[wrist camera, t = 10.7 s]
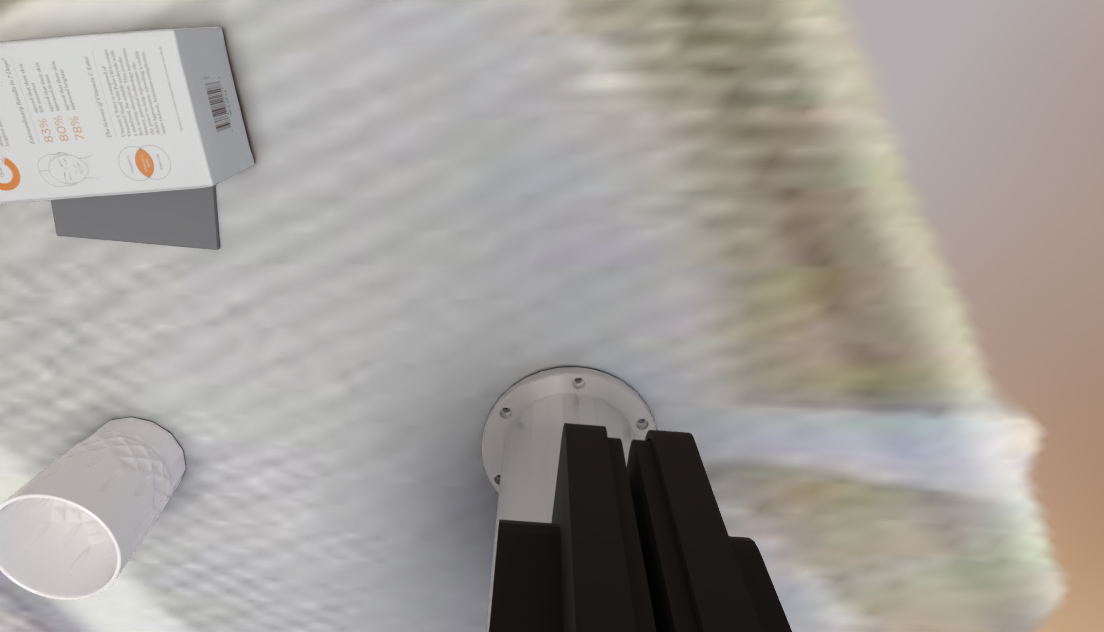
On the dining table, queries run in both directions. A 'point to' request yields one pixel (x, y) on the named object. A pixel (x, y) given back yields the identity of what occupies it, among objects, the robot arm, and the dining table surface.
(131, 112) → the small box
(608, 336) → the dining table surface
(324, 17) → the dining table surface
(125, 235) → the mat
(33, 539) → the white cup
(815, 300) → the dining table surface
